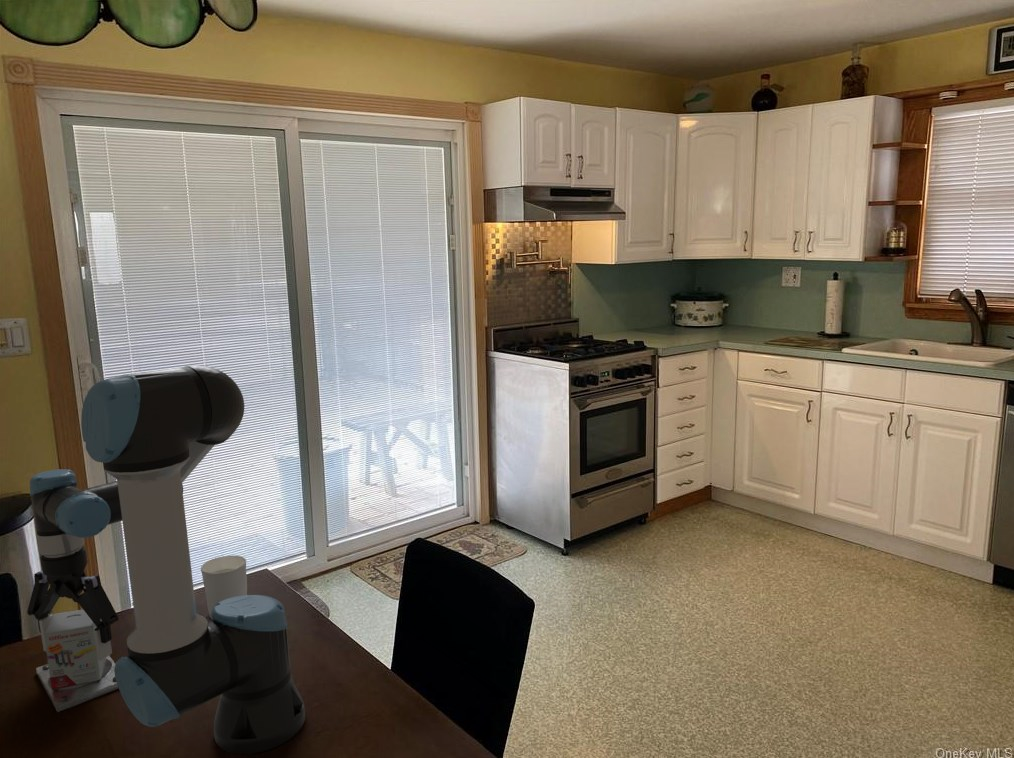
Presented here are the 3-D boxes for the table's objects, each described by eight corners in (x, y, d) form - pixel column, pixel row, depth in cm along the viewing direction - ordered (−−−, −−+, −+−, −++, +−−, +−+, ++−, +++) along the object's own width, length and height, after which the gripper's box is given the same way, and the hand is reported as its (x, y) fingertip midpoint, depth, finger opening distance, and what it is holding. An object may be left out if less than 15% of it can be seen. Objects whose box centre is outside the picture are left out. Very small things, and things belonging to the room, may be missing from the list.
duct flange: (127, 685, 143) (126, 678, 143) (57, 712, 135) (56, 704, 135) (102, 650, 156) (101, 644, 156) (36, 673, 148) (35, 666, 148)
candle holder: (242, 598, 178) (237, 551, 176) (257, 612, 170) (252, 564, 168) (200, 612, 172) (194, 563, 170) (214, 627, 164) (208, 577, 162)
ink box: (50, 690, 139) (41, 633, 137) (59, 667, 147) (51, 612, 145) (101, 680, 142) (93, 623, 140) (108, 658, 150) (100, 604, 148)
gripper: (130, 548, 141) (143, 650, 144) (31, 537, 148) (46, 635, 152) (98, 564, 134) (112, 671, 137) (-5, 552, 141) (12, 654, 145)
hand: (77, 652), depth 145 cm, fingers open, 13 cm apart
